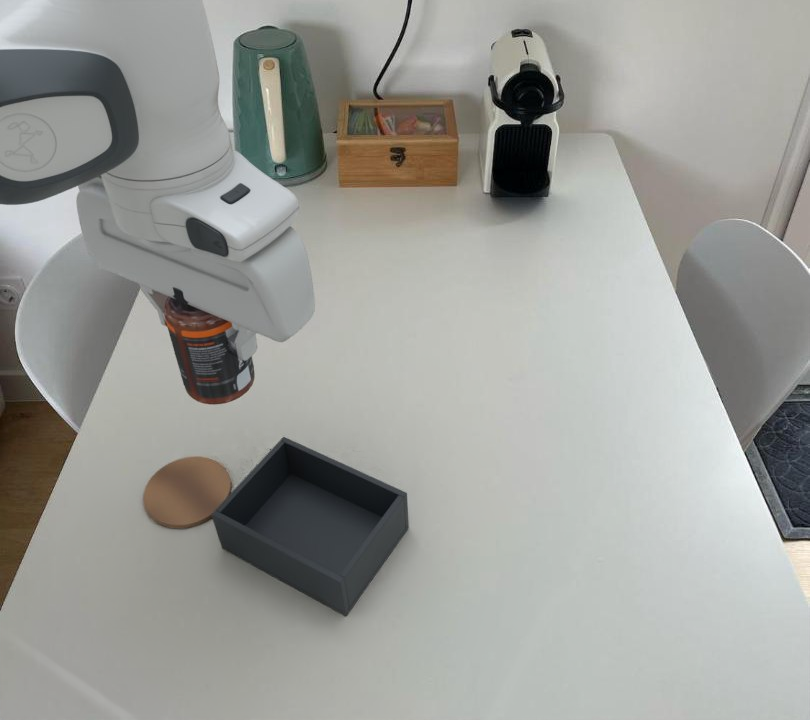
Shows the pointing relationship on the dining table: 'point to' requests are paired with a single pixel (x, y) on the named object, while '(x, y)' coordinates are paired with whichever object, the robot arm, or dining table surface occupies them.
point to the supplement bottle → (206, 353)
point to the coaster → (186, 492)
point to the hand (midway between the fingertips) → (209, 338)
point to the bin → (313, 523)
